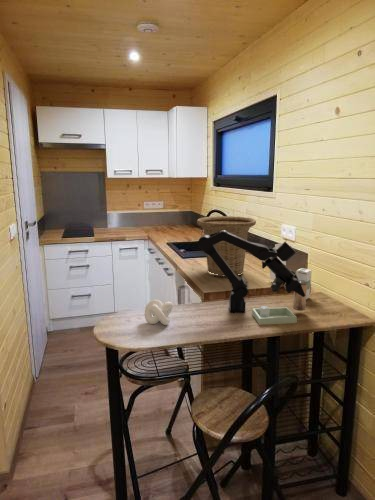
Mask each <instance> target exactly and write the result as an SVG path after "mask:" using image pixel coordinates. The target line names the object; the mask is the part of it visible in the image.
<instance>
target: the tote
mask: <svg viewBox="0 0 375 500" xmlns="http://www.w3.org/2000/svg"><path fill="white" fill-rule="evenodd" d="M251 314H252V316H253V318H254V320H256V323H258V325H259V326H261V325H282V324H283V325H284V324H297V322H298V320H297V319H298V316H296V314H294V312H293V311H292V310H290V308H289V307H287V306H285V307H282V306H281V307H270V314H269V317H266V318H261V317H260V307H257V308H251Z"/></svg>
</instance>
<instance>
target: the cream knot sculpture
mask: <svg viewBox="0 0 375 500" xmlns="http://www.w3.org/2000/svg"><path fill="white" fill-rule="evenodd" d="M173 307H174V305H173V302H171V301H166V302H162V301H160V300H159V299H151V300H150V301H148V303H147V304H146V306H145V307H144V308H145V309H144V319H145V322H147V323H148V324H150V325H156V324H157V323H159V322H160V323H161V324H162V325H164V326H167V325H169V324H170V317H169V315H170V314H171V312H172V310H173Z"/></svg>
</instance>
